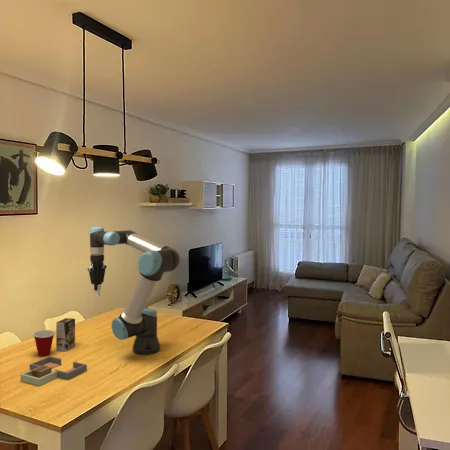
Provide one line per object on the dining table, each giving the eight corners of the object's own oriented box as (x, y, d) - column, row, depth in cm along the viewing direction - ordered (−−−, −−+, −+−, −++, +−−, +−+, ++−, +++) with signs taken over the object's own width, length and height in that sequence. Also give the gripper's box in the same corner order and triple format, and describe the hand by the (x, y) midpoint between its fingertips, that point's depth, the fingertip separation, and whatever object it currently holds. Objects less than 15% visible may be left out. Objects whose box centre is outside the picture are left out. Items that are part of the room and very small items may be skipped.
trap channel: (86, 370, 193) (86, 364, 193) (49, 388, 173) (49, 382, 173) (49, 361, 204) (49, 356, 204) (10, 378, 184) (10, 371, 184)
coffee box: (66, 351, 218) (66, 322, 218) (55, 350, 220) (55, 322, 219) (75, 346, 227) (75, 318, 227) (65, 345, 228) (65, 317, 228)
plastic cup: (41, 359, 206) (41, 337, 206) (29, 355, 212) (28, 333, 211) (59, 353, 216) (59, 331, 215) (47, 349, 221) (47, 328, 221)
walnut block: (51, 376, 186) (51, 367, 186) (41, 381, 181) (41, 371, 181) (42, 374, 189) (41, 365, 188) (31, 379, 183) (31, 369, 183)
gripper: (100, 253, 232) (100, 292, 233) (83, 255, 220) (83, 297, 221) (110, 253, 229) (110, 294, 230) (93, 256, 217) (94, 298, 218)
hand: (97, 295), depth 225 cm, fingers closed
